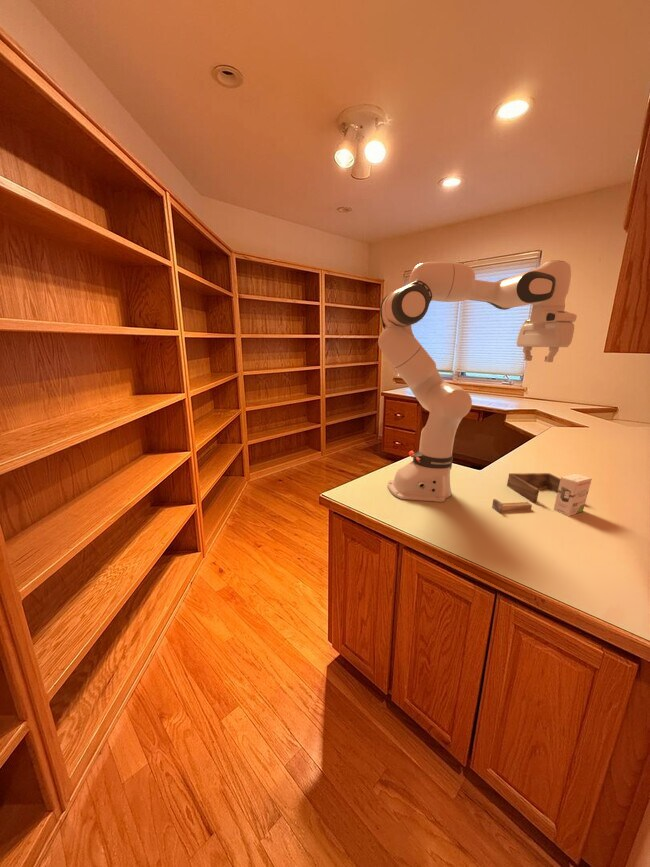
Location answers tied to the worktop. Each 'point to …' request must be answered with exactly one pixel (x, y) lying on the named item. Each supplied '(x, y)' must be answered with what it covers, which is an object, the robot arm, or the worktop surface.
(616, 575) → the worktop surface
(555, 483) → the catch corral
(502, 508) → the beech bar
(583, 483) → the ink box
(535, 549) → the worktop surface
